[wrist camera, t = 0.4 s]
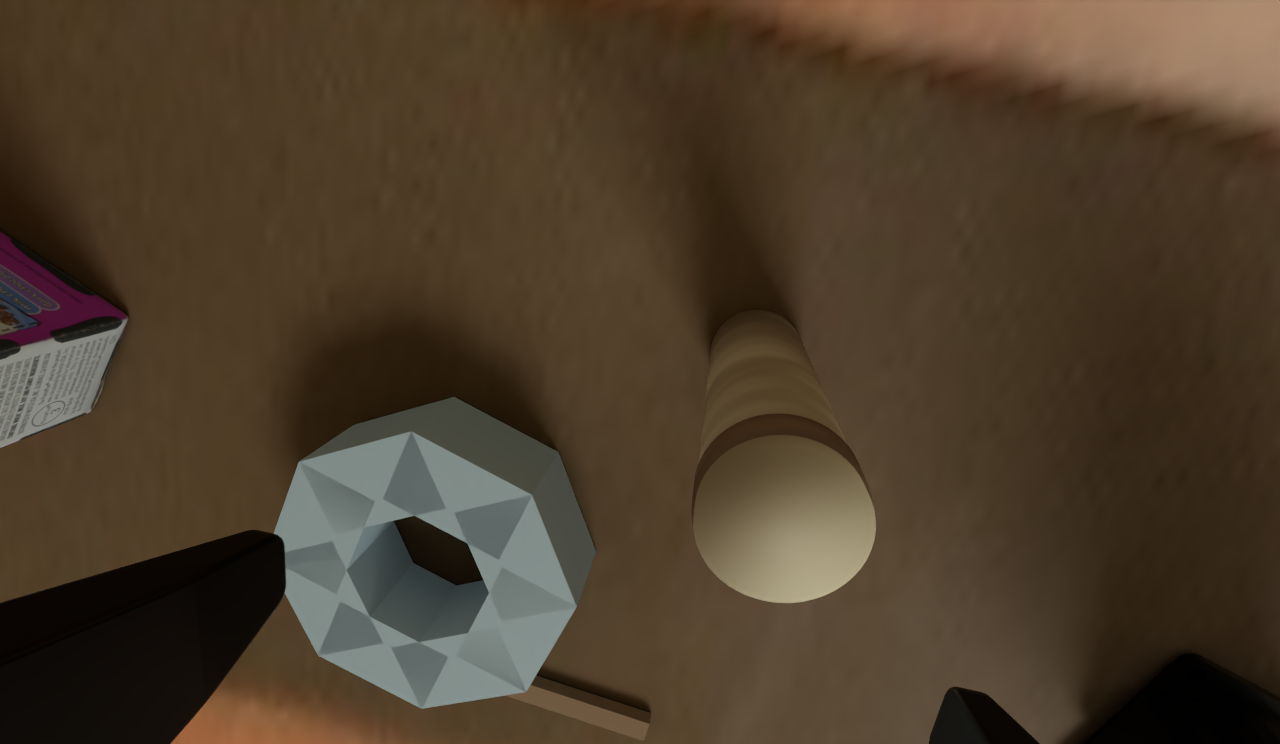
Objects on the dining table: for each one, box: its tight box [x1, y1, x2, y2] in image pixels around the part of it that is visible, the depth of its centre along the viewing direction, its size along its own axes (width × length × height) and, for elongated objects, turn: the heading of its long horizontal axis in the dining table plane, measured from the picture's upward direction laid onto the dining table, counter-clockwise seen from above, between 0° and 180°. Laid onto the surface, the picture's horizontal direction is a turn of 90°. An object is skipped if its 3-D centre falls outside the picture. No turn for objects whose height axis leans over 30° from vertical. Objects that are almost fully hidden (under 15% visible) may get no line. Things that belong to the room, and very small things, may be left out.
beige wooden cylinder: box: [692, 309, 876, 603], centre depth 15 cm, size 3×3×10 cm
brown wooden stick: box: [505, 676, 651, 741], centre depth 24 cm, size 12×1×1 cm, turn 75°
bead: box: [274, 397, 596, 709], centre depth 21 cm, size 10×10×3 cm
